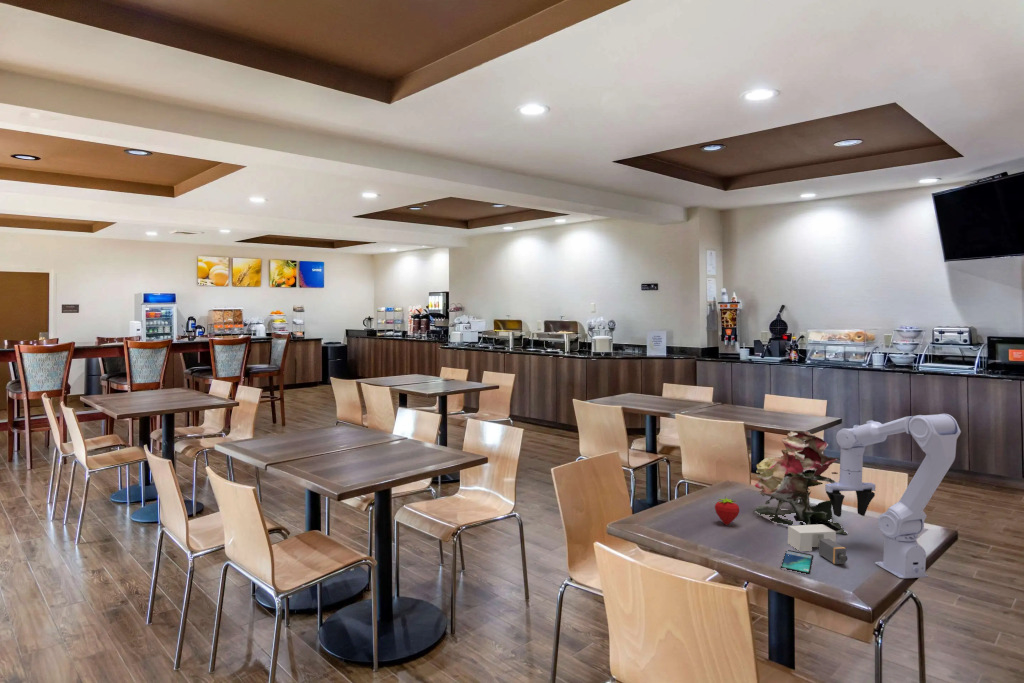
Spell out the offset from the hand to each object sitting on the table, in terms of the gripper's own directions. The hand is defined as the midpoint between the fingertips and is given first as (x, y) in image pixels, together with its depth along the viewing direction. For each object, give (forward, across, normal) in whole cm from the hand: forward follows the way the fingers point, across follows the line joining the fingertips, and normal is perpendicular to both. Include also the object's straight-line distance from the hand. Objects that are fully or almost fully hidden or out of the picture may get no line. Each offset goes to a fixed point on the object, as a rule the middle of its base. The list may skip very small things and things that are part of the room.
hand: (849, 515), depth 177 cm
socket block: (+9, +11, -1) cm, 15 cm away
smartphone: (+10, +21, +8) cm, 25 cm away
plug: (+9, +11, +8) cm, 17 cm away
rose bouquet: (+10, +2, -24) cm, 26 cm away
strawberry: (+10, +27, -21) cm, 36 cm away
